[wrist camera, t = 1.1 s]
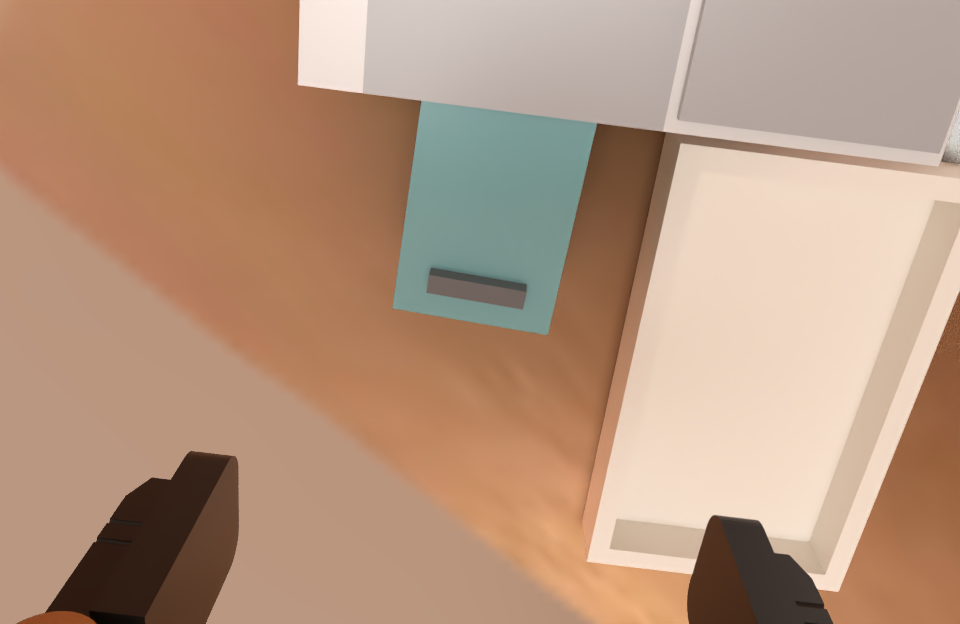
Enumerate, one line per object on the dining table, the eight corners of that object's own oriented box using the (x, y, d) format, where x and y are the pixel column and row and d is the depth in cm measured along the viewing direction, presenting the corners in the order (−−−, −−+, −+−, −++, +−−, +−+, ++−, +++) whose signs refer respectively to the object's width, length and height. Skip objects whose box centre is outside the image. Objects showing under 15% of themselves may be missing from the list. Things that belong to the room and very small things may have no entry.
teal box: (624, -108, 26) (657, -122, 20) (541, 266, 31) (548, 343, 25) (469, -138, 26) (456, -161, 20) (414, 243, 31) (389, 316, 25)
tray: (962, 163, 29) (1002, 184, 26) (817, 549, 36) (838, 591, 34) (667, 126, 29) (680, 143, 26) (581, 520, 36) (586, 561, 34)
